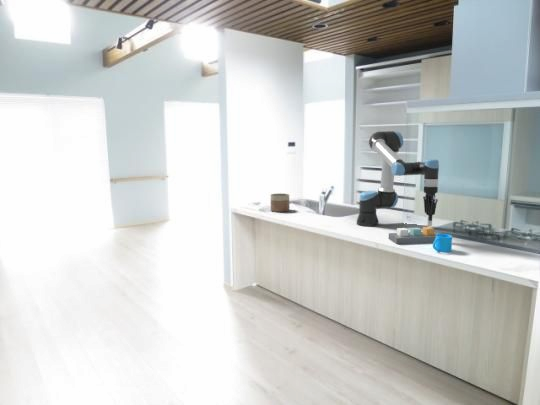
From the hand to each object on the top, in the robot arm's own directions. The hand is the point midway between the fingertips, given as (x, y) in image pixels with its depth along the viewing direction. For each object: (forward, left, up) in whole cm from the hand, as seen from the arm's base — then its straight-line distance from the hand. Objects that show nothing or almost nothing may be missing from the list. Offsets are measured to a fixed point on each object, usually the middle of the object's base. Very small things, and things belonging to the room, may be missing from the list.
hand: (429, 225), depth 235 cm
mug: (+22, -4, -9) cm, 24 cm away
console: (0, -8, -9) cm, 12 cm away
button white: (0, -16, -6) cm, 17 cm away
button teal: (0, -8, -6) cm, 10 cm away
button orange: (0, 0, -6) cm, 6 cm away
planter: (-109, -76, -9) cm, 133 cm away
